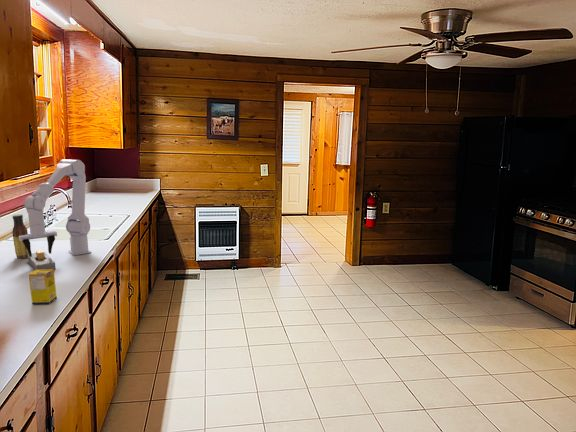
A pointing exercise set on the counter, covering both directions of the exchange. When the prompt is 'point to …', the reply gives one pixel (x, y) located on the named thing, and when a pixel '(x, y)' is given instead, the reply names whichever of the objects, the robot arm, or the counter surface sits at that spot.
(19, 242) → the sauce bottle
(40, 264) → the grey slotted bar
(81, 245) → the robot arm
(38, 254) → the tan wooden block
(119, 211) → the counter surface
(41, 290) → the supplement box
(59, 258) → the counter surface
